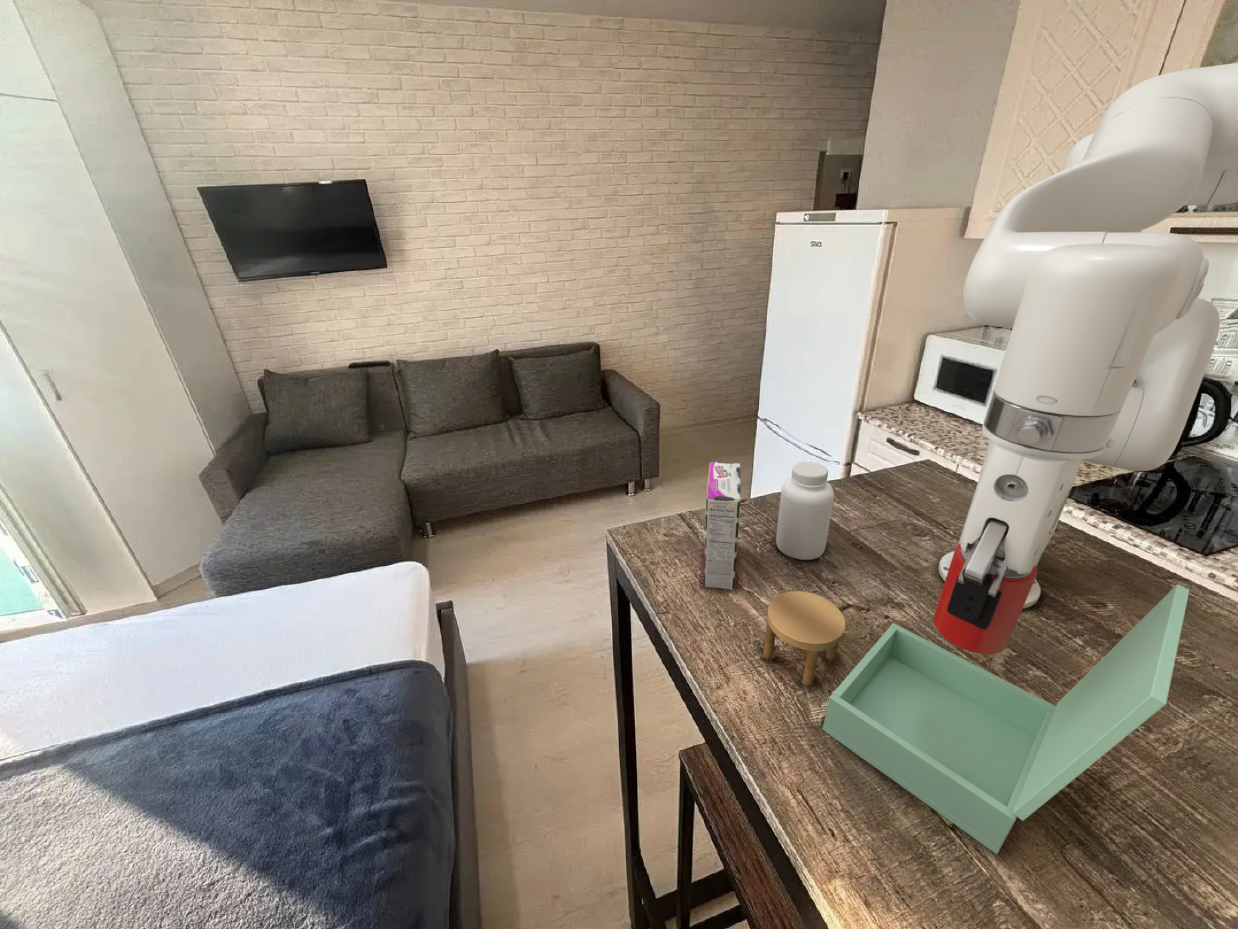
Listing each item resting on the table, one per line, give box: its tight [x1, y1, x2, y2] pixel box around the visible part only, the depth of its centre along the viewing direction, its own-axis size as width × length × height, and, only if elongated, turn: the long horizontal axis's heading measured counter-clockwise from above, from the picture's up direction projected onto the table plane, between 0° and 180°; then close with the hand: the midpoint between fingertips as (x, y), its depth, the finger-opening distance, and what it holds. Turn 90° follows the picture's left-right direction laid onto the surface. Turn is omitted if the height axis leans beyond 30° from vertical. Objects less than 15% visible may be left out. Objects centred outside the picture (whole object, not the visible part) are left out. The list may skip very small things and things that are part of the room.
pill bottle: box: [775, 461, 835, 561], centre depth 83 cm, size 8×8×15 cm
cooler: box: [822, 622, 1057, 855], centre depth 54 cm, size 17×16×5 cm
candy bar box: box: [703, 461, 742, 591], centre depth 78 cm, size 11×5×16 cm, turn 168°
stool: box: [762, 590, 846, 687], centre depth 64 cm, size 9×9×7 cm
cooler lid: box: [1013, 584, 1190, 822], centre depth 42 cm, size 18×16×1 cm
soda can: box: [933, 543, 1038, 655], centre depth 47 cm, size 6×6×9 cm
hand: (980, 599), depth 47 cm, fingers closed on soda can, 6 cm apart
